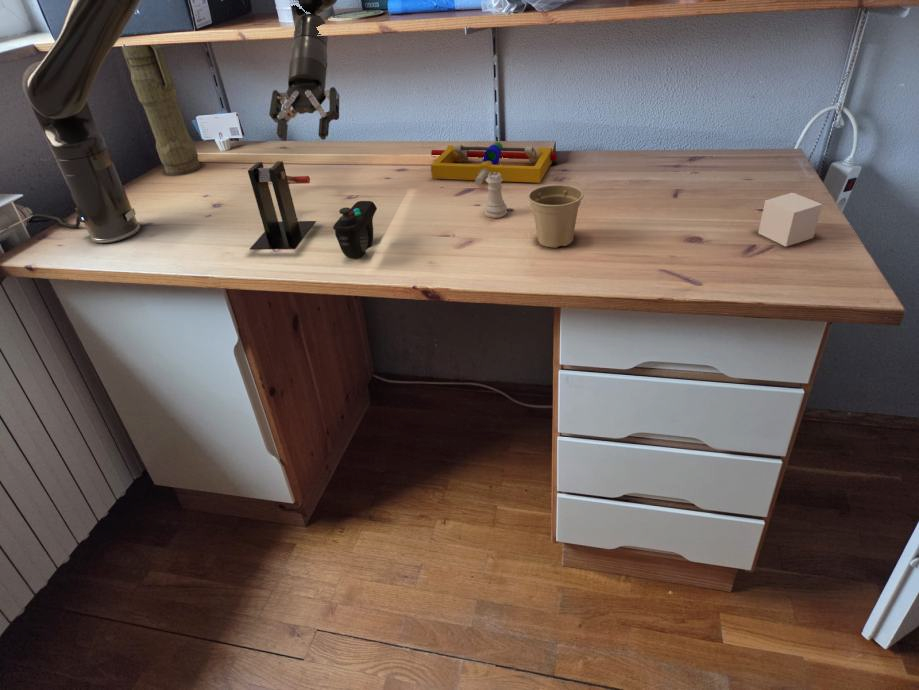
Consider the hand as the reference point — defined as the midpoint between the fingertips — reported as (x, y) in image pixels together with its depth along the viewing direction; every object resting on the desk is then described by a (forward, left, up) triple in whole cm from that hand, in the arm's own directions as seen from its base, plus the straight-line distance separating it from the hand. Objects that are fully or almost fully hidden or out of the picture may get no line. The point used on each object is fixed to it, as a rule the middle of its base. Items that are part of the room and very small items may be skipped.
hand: (302, 138), depth 128 cm
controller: (+25, -17, -14) cm, 33 cm away
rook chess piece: (+41, +6, -14) cm, 43 cm away
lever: (+5, -13, -4) cm, 15 cm away
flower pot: (+56, -1, -14) cm, 57 cm away
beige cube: (+92, +13, -14) cm, 93 cm away
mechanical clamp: (+29, +25, -14) cm, 40 cm away
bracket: (+7, -18, -14) cm, 23 cm away
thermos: (-49, +7, -14) cm, 52 cm away
